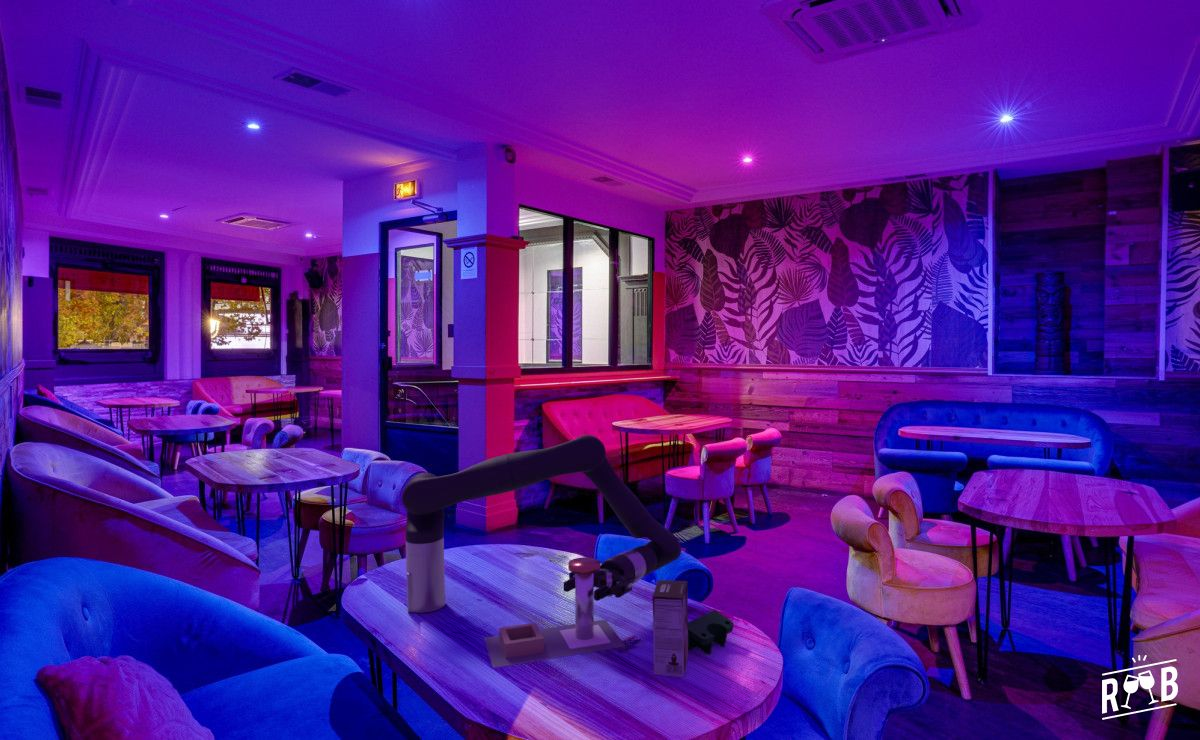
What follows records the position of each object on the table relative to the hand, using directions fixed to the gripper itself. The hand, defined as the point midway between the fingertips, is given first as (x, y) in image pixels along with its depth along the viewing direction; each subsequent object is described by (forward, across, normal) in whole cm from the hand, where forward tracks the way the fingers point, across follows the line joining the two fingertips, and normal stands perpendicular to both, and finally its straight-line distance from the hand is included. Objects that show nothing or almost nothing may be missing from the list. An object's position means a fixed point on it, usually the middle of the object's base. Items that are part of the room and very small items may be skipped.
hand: (579, 591), depth 141 cm
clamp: (-16, +22, +12) cm, 30 cm away
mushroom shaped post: (-2, 0, +10) cm, 10 cm away
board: (+4, -4, +12) cm, 13 cm away
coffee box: (-4, +20, +12) cm, 24 cm away
